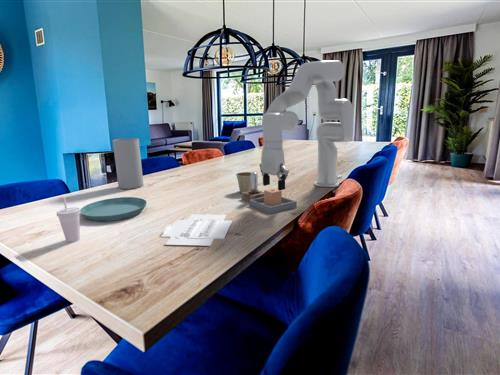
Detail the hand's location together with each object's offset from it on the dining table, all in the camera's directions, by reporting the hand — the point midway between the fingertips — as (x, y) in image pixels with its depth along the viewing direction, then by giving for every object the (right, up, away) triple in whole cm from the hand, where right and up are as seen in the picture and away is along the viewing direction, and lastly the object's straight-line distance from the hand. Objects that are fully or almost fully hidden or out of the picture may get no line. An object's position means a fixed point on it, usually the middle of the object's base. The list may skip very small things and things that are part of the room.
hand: (273, 187), depth 128 cm
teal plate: (-63, -10, -3) cm, 64 cm away
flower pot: (-12, -2, +25) cm, 28 cm away
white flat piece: (-27, -15, -22) cm, 38 cm away
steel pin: (-8, -5, +11) cm, 15 cm away
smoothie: (-65, -17, -29) cm, 73 cm away
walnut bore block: (-8, -5, +11) cm, 14 cm away
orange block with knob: (0, -7, +1) cm, 7 cm away
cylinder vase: (-73, 0, +40) cm, 83 cm away
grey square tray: (0, -8, +1) cm, 8 cm away
